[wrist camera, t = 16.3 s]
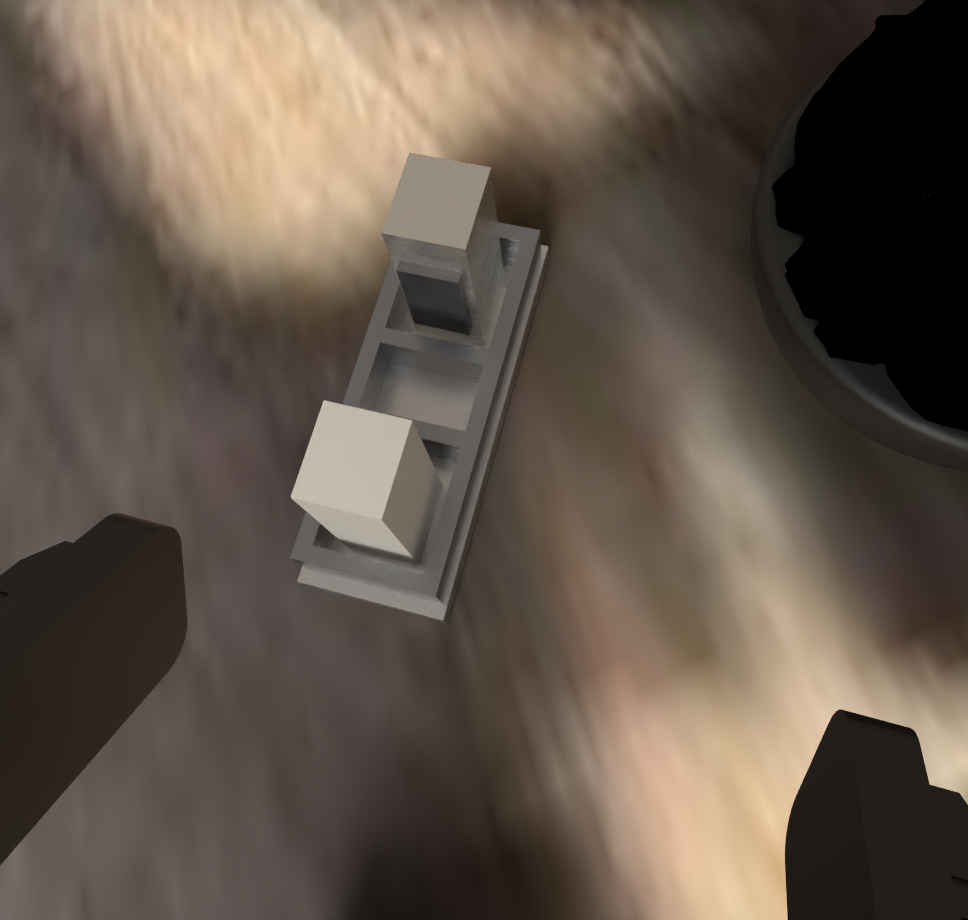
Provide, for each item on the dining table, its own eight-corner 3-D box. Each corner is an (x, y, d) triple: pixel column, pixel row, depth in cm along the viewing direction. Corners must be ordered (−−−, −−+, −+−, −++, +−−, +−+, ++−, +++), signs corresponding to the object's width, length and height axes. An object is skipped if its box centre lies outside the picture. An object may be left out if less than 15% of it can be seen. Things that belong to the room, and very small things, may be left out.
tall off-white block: (375, 459, 41) (327, 388, 33) (445, 475, 41) (416, 408, 32) (347, 547, 40) (290, 497, 32) (419, 565, 40) (381, 519, 31)
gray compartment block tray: (421, 237, 47) (385, 103, 37) (548, 261, 46) (545, 130, 36) (306, 586, 41) (226, 540, 31) (447, 624, 40) (410, 589, 30)
